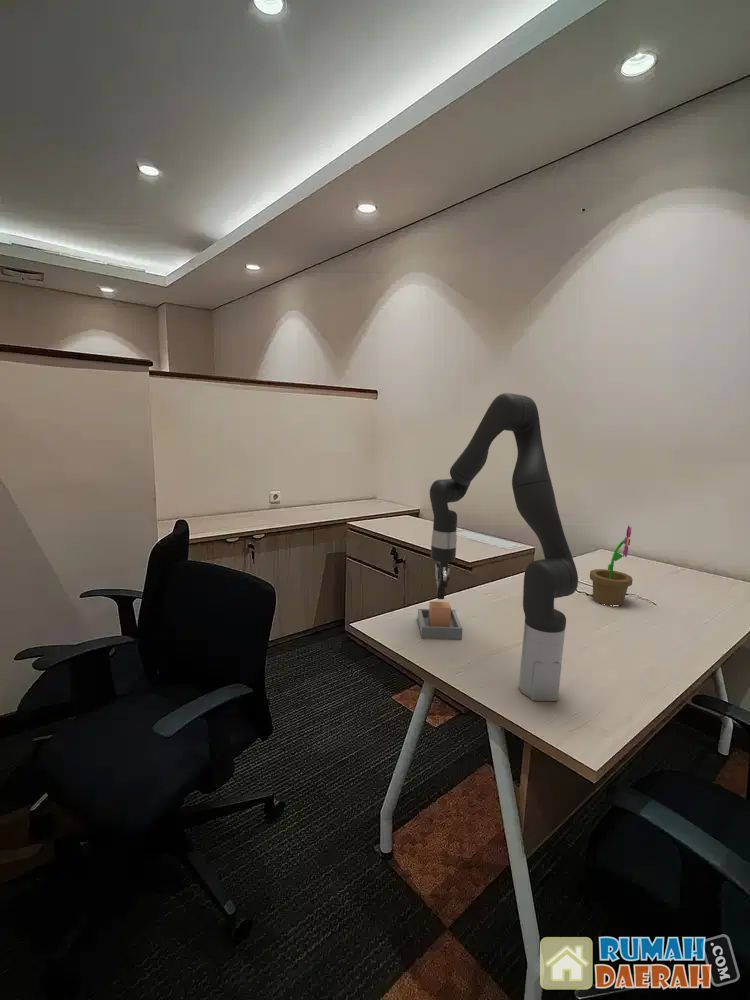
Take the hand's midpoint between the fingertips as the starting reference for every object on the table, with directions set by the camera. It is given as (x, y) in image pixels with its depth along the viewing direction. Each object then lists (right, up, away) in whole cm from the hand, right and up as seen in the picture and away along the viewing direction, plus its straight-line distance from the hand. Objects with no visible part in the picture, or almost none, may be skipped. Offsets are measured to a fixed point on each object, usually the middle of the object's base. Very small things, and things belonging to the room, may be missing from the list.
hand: (440, 598), depth 146 cm
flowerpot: (+67, -8, +30) cm, 73 cm away
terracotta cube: (0, -9, +1) cm, 9 cm away
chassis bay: (0, -10, +2) cm, 10 cm away
